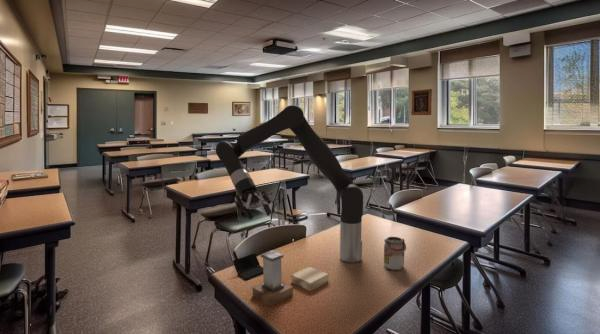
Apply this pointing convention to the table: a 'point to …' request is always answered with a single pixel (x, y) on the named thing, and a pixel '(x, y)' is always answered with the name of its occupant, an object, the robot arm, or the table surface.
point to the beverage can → (394, 253)
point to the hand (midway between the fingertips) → (261, 216)
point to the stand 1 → (272, 294)
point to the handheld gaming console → (248, 267)
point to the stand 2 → (309, 278)
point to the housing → (272, 271)
